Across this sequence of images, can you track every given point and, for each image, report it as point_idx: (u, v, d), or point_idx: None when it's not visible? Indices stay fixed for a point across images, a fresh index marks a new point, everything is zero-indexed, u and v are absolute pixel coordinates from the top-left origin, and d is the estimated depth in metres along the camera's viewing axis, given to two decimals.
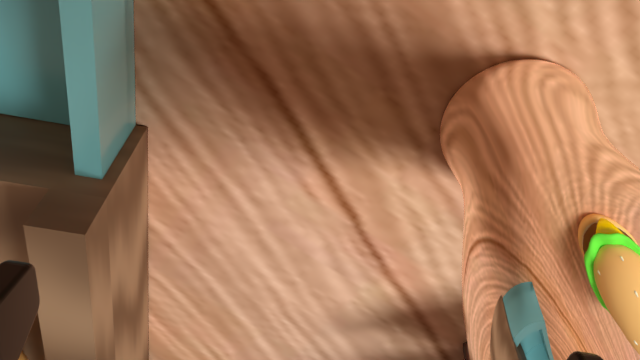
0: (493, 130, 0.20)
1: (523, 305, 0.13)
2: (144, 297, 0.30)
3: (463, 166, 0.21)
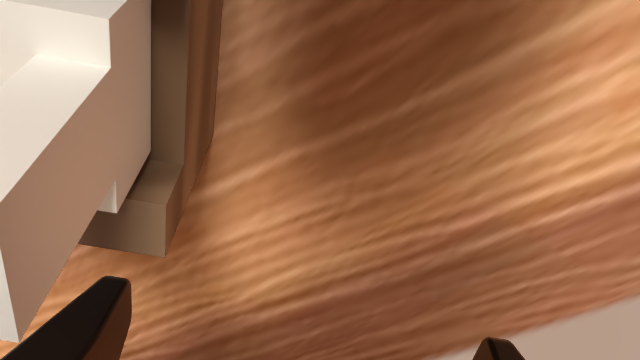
0: None
1: None
2: None
3: None
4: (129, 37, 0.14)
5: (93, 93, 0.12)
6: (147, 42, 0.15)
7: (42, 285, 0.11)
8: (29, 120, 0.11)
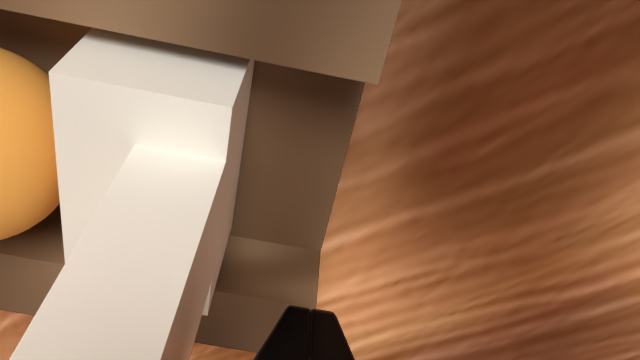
0: None
1: None
2: None
3: None
4: (238, 117, 0.11)
5: (213, 201, 0.10)
6: (245, 113, 0.13)
7: None
8: (150, 253, 0.08)
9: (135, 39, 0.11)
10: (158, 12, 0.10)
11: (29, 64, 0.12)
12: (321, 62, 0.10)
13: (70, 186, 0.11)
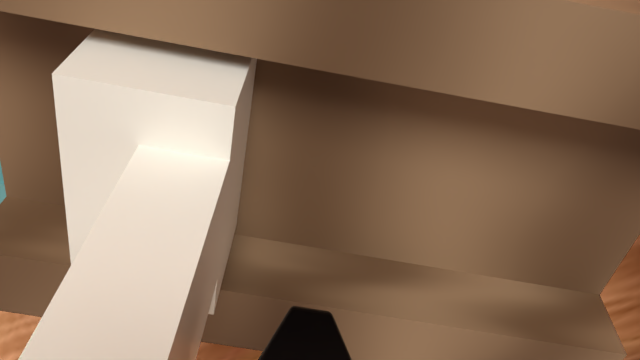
0: None
1: None
2: None
3: None
4: (242, 116, 0.11)
5: (218, 200, 0.10)
6: (248, 112, 0.13)
7: None
8: (155, 252, 0.08)
9: (137, 39, 0.11)
10: (590, 93, 0.10)
11: None
12: None
13: (75, 187, 0.11)
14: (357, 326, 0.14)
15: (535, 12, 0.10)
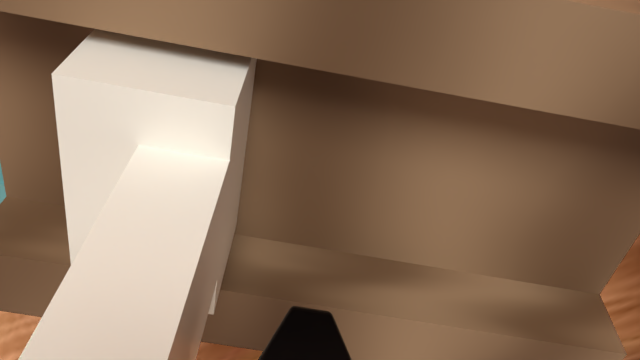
0: None
1: None
2: None
3: None
4: (242, 116, 0.11)
5: (218, 200, 0.10)
6: (248, 112, 0.13)
7: None
8: (156, 252, 0.08)
9: (137, 39, 0.11)
10: (590, 93, 0.10)
11: None
12: None
13: (75, 187, 0.11)
14: (357, 326, 0.14)
15: (535, 12, 0.10)
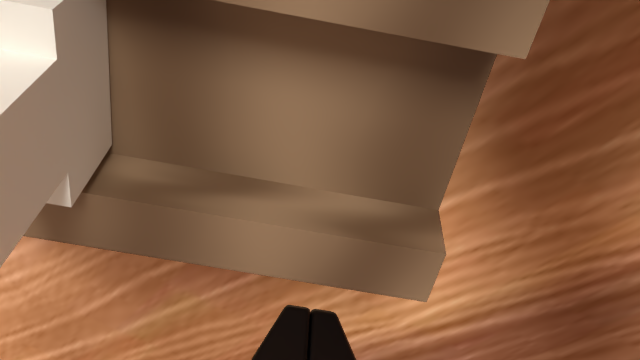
0: None
1: None
2: None
3: None
4: (80, 29, 0.13)
5: (36, 84, 0.12)
6: (102, 34, 0.15)
7: None
8: None
9: None
10: (356, 3, 0.13)
11: None
12: (481, 41, 0.13)
13: None
14: (209, 228, 0.16)
15: None
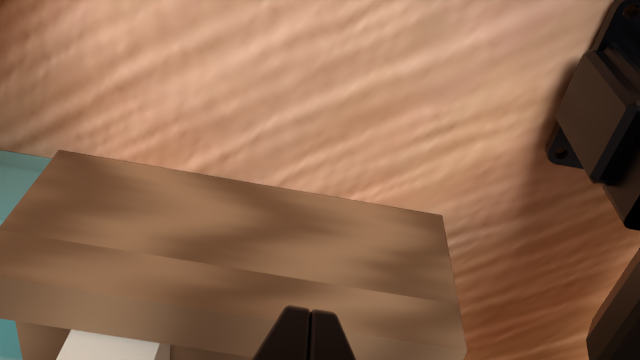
0: None
1: None
2: (296, 201, 0.24)
3: None
4: None
5: None
6: None
7: None
8: None
9: None
10: None
11: None
12: None
13: None
14: None
15: None
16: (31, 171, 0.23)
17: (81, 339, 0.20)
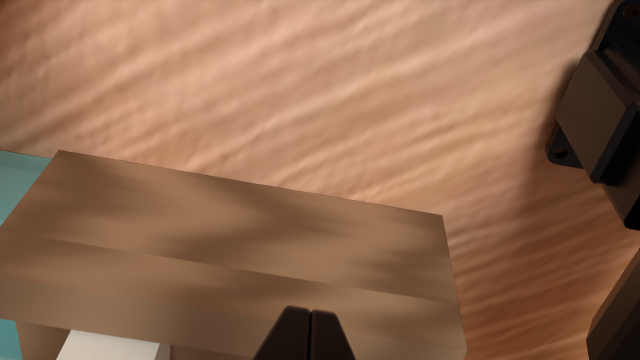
0: None
1: None
2: (296, 201, 0.24)
3: None
4: None
5: None
6: None
7: None
8: None
9: None
10: None
11: None
12: None
13: None
14: None
15: None
16: (31, 171, 0.23)
17: (81, 339, 0.20)
